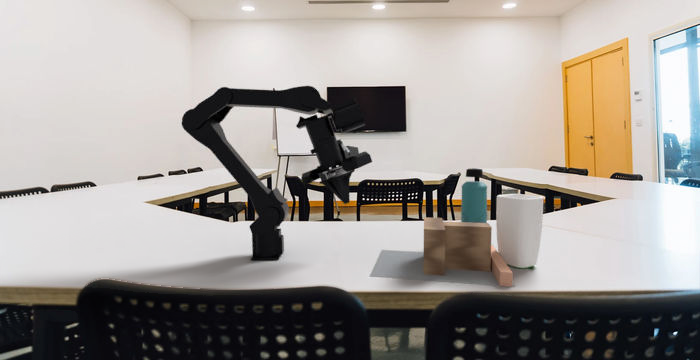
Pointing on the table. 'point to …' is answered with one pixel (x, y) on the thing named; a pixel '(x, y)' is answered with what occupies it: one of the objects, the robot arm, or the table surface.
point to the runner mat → (412, 268)
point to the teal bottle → (474, 199)
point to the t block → (456, 246)
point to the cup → (519, 228)
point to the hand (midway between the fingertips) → (347, 203)
